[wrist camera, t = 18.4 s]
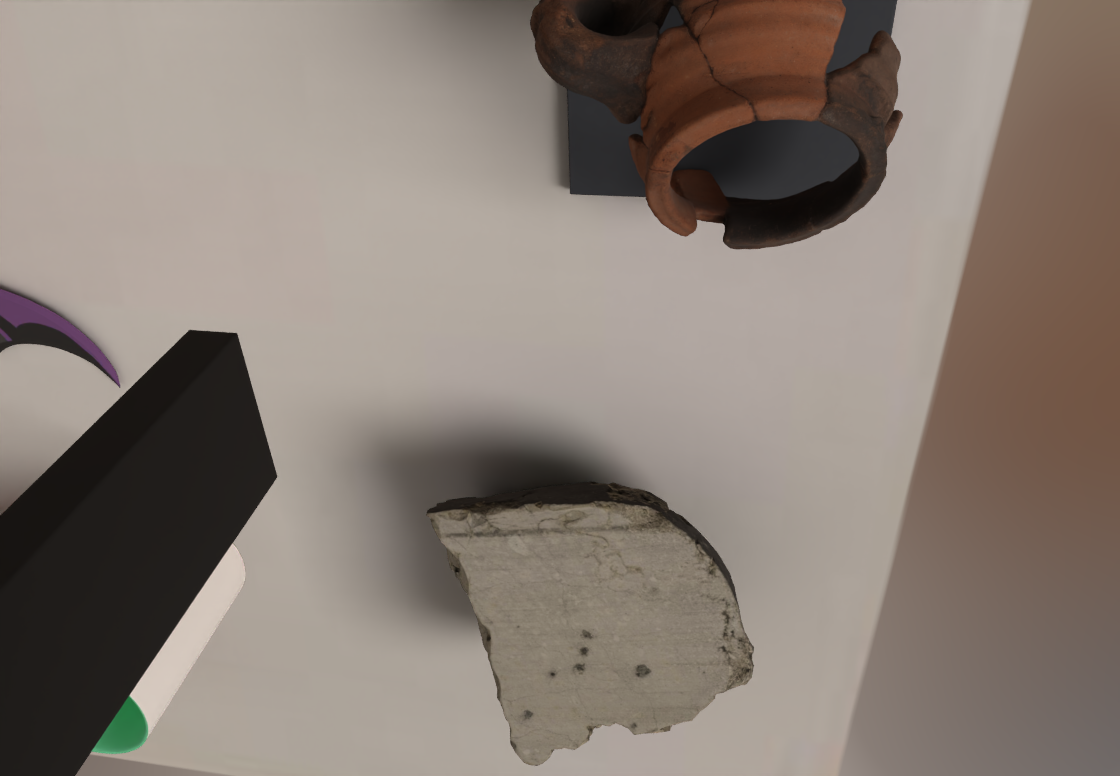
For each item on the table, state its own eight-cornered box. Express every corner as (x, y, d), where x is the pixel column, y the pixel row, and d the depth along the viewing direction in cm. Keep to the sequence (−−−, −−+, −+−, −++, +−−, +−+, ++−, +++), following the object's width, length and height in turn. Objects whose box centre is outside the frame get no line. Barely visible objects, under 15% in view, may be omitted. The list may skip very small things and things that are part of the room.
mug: (81, 440, 48) (-62, 581, 40) (219, 461, 47) (103, 609, 39) (134, 590, 55) (22, 737, 46) (255, 611, 54) (164, 765, 45)
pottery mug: (938, -99, 27) (989, 104, 24) (800, 113, 36) (822, 286, 32) (560, -188, 25) (553, 21, 21) (507, 60, 33) (495, 240, 30)
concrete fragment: (377, 486, 42) (589, 580, 31) (539, 411, 49) (765, 467, 37) (439, 730, 47) (643, 887, 36) (580, 633, 53) (791, 742, 42)
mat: (919, -141, 27) (921, -140, 26) (860, 199, 33) (862, 205, 33) (563, -133, 29) (560, -131, 28) (572, 189, 35) (569, 194, 34)
